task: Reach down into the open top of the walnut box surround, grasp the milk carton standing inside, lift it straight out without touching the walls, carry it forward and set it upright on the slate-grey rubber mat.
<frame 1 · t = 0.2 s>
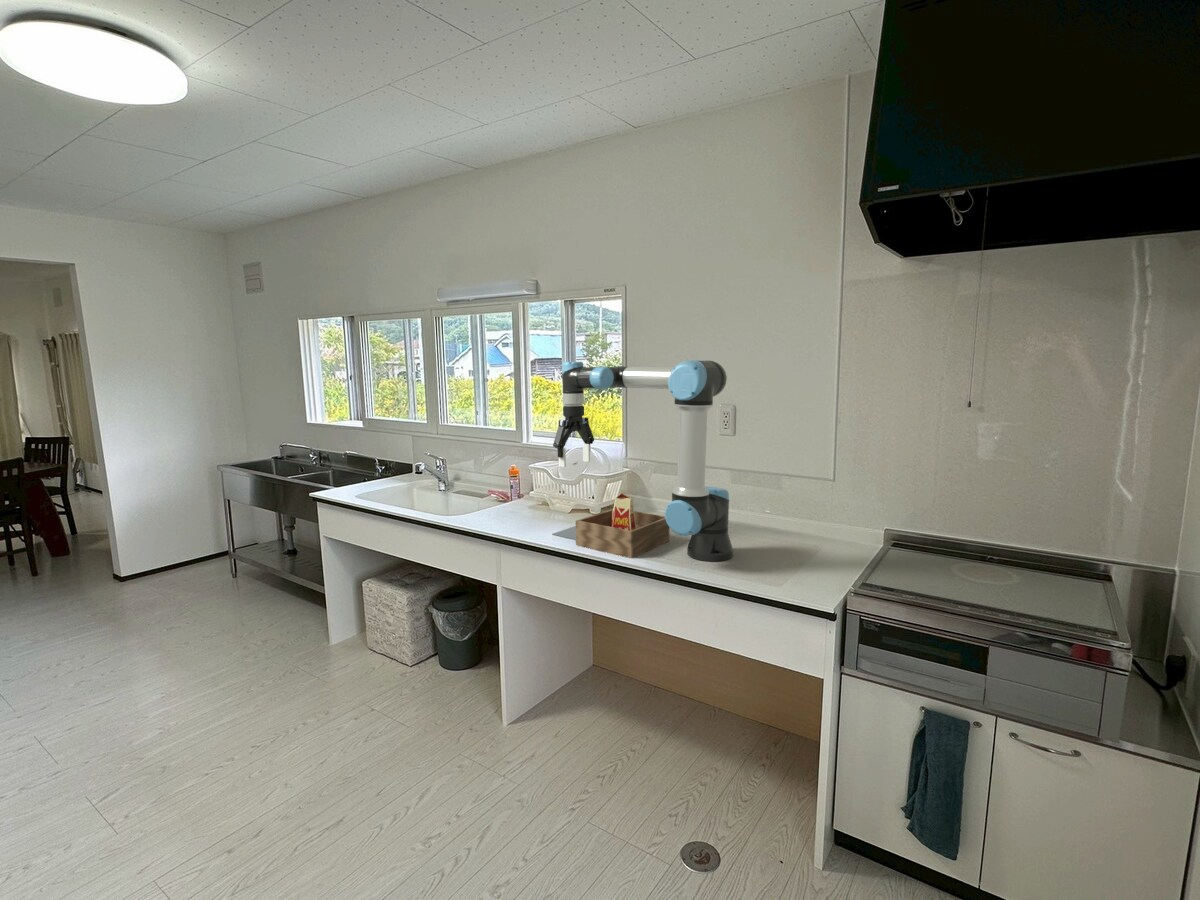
hand: (574, 464, 221), 28 cm above the counter, fingers open, 13 cm apart
slate mat: (578, 533, 232), on the counter
walnut surround: (623, 543, 219), on the counter
milk carton: (623, 544, 220), resting in walnut surround
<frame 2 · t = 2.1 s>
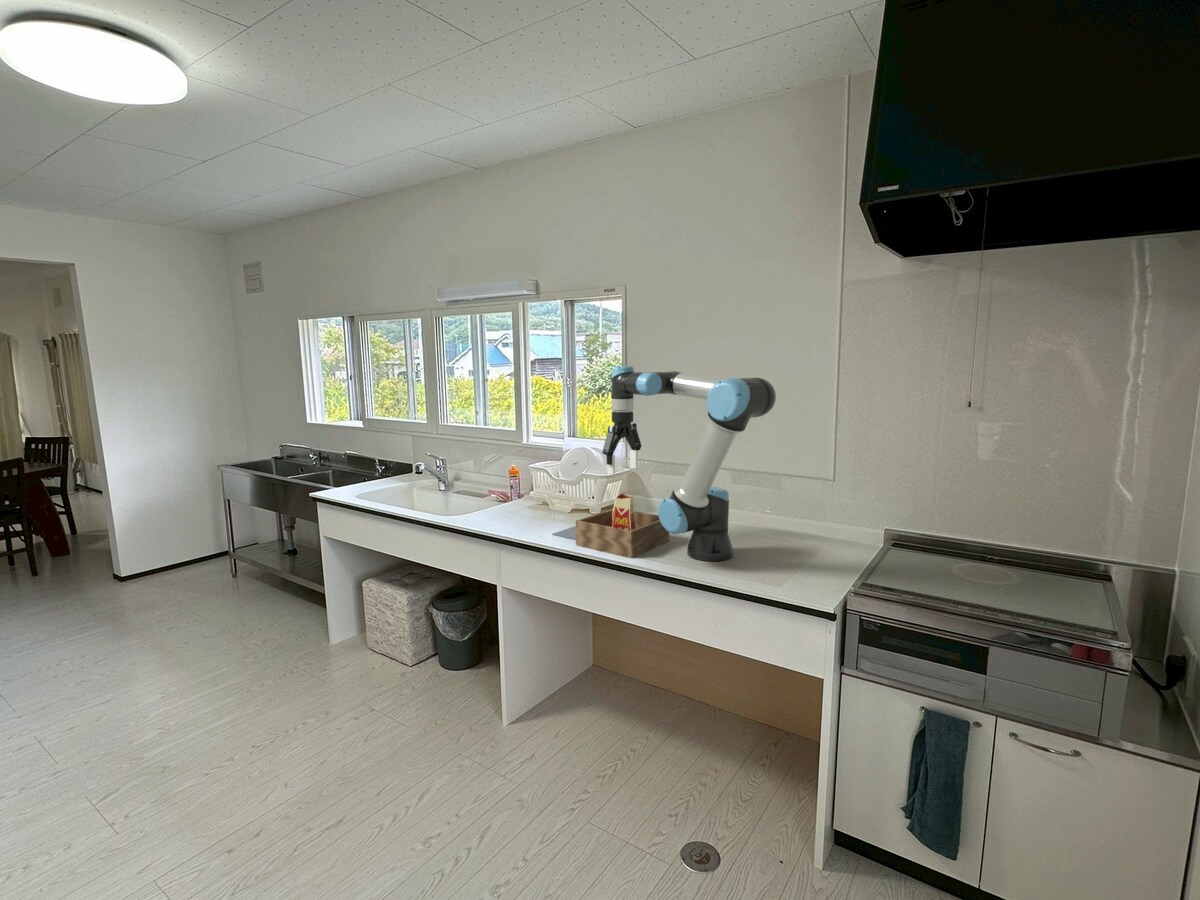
hand: (622, 470, 216), 26 cm above the counter, fingers open, 13 cm apart
nothing on the counter moved.
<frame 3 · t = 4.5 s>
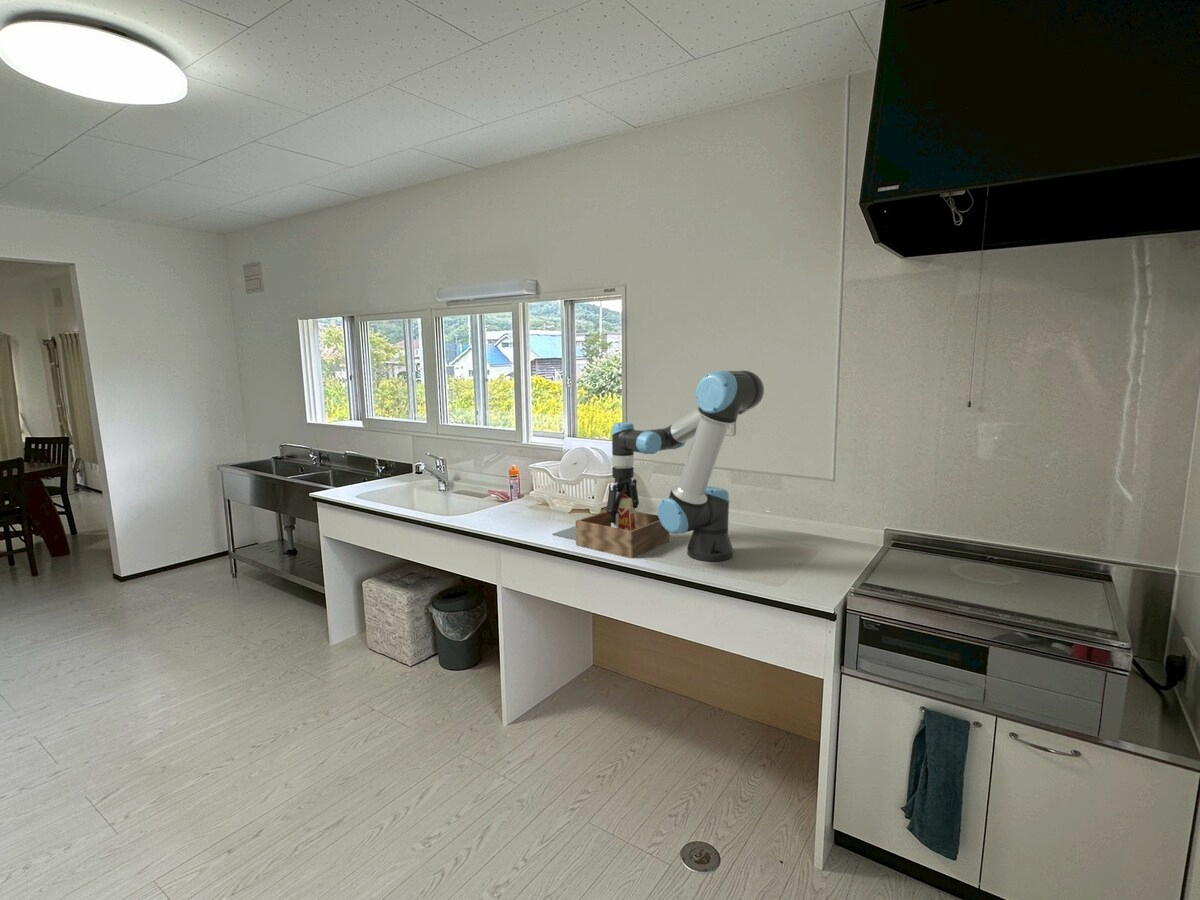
hand: (623, 528, 219), 6 cm above the counter, fingers closed on milk carton, 9 cm apart
milk carton: (623, 543, 220), resting in walnut surround, touching gripper
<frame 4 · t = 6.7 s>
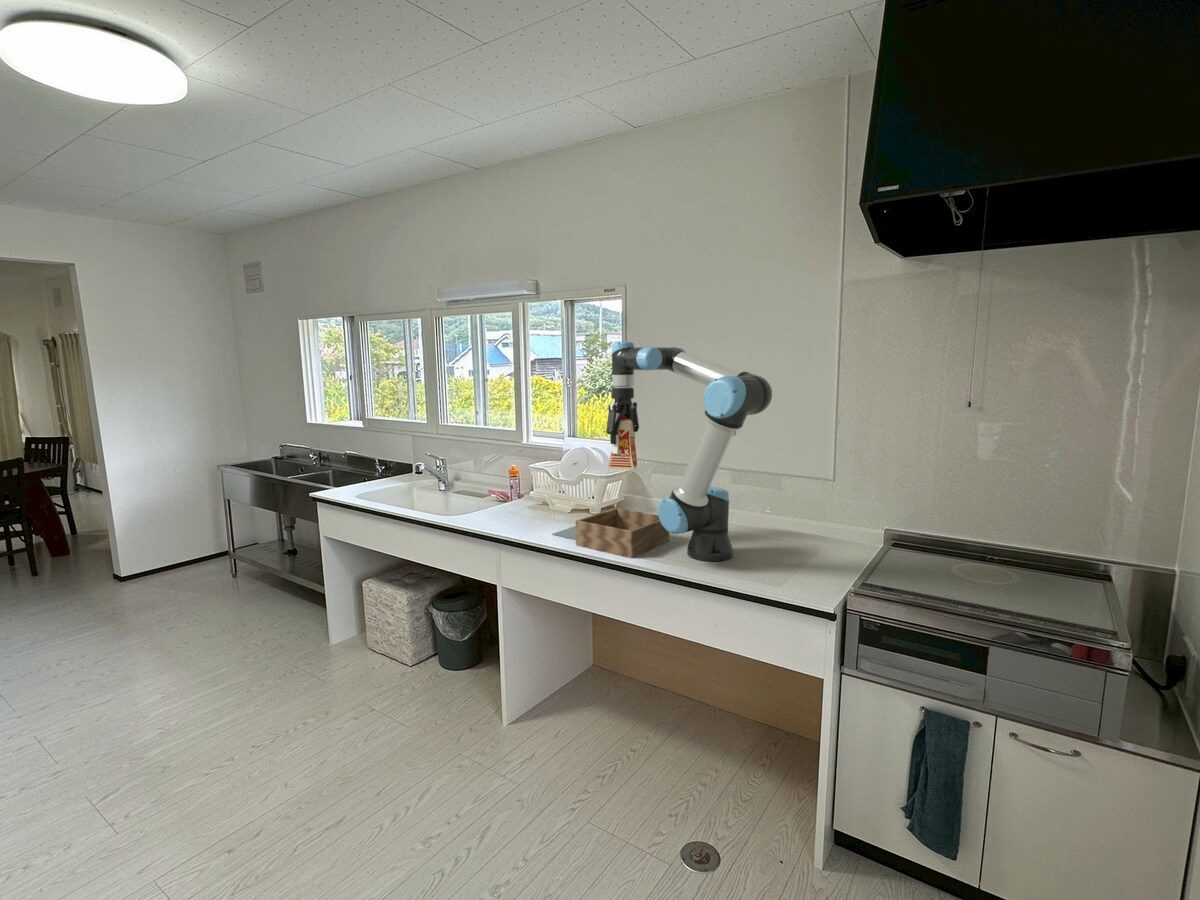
hand: (623, 451, 215), 33 cm above the counter, fingers closed on milk carton, 9 cm apart
milk carton: (623, 468, 215), point 27 cm above the counter, touching gripper
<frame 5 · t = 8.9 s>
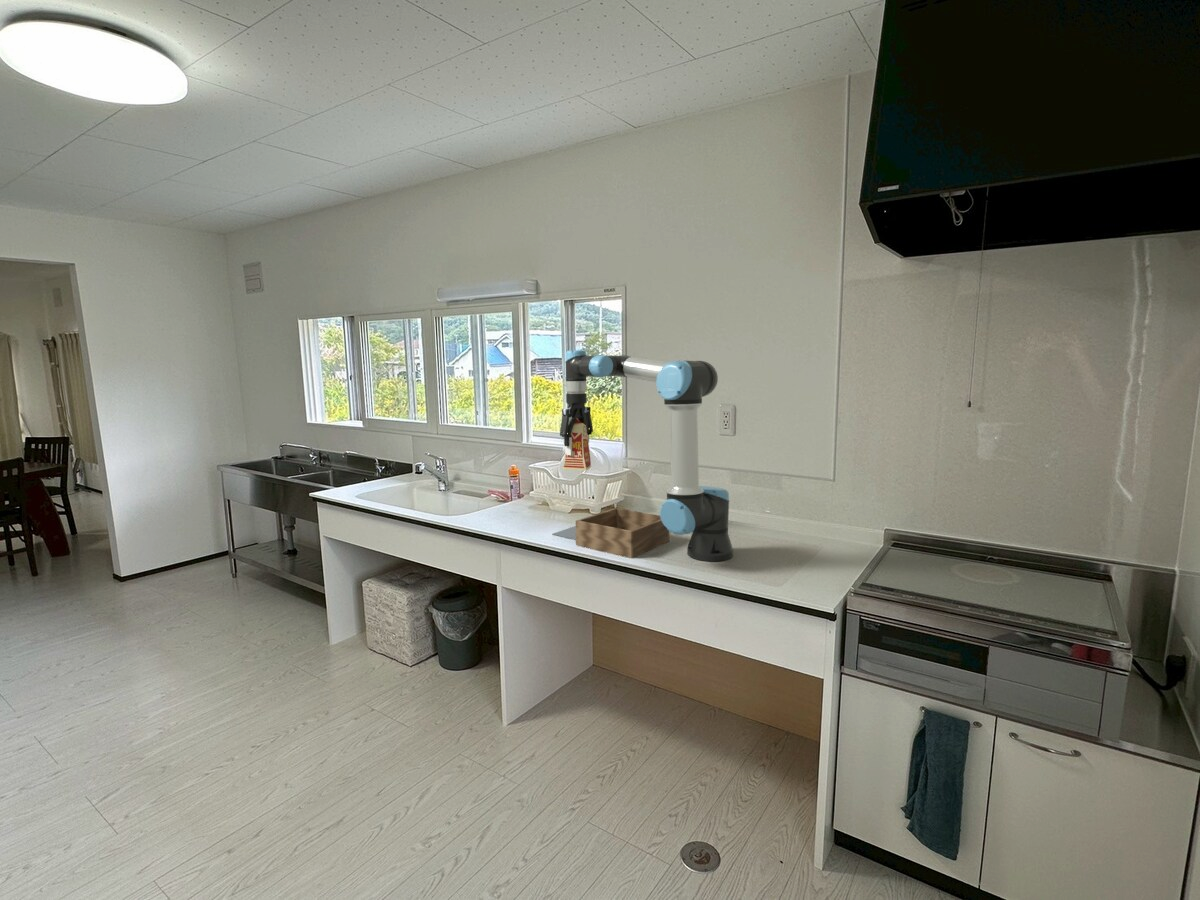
hand: (577, 453, 228), 31 cm above the counter, fingers closed on milk carton, 9 cm apart
milk carton: (577, 468, 229), point 25 cm above the counter, touching gripper
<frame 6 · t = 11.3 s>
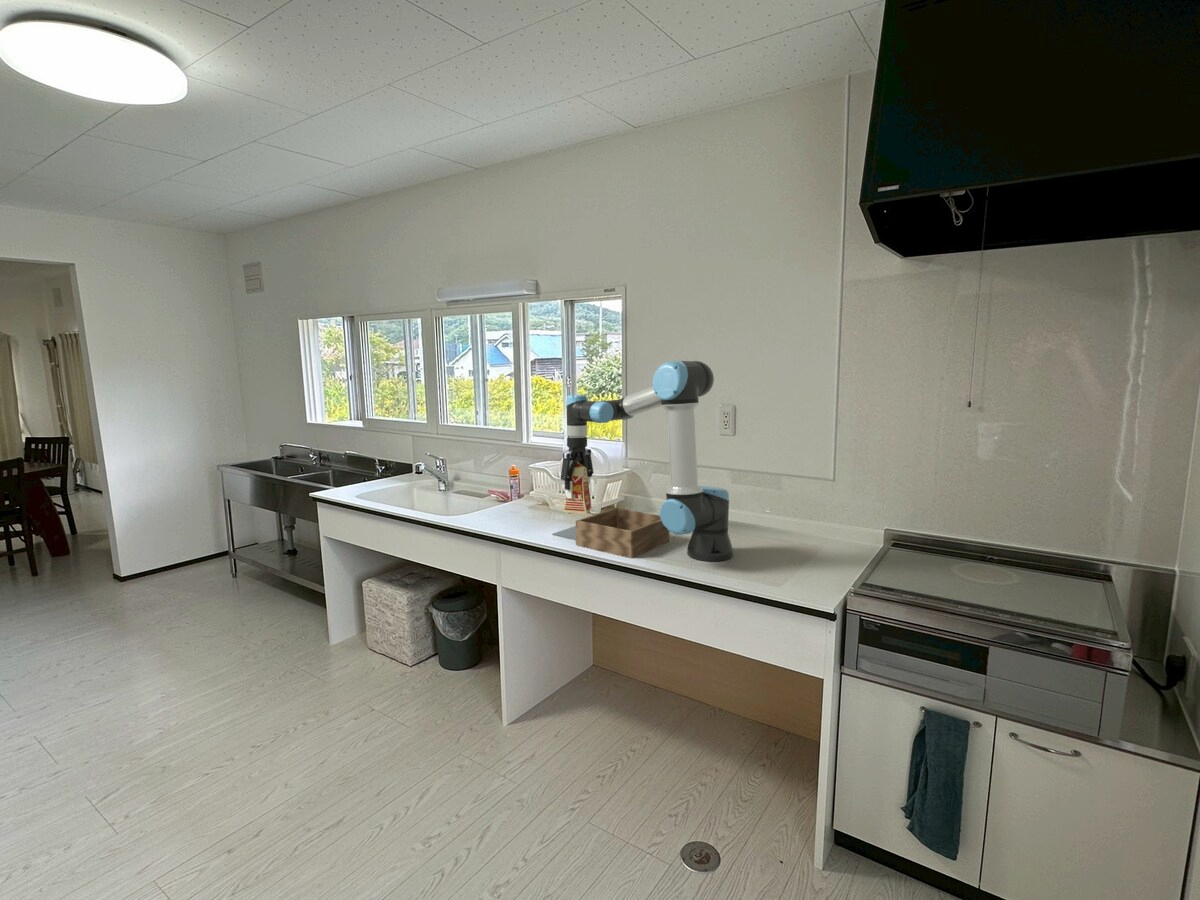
hand: (577, 495, 230), 15 cm above the counter, fingers closed on milk carton, 9 cm apart
milk carton: (577, 510, 231), point 9 cm above the counter, touching gripper
when the fingers open (7 cm above the counter, at t = 13.5 s): milk carton drops 1 cm, resting on slate mat.
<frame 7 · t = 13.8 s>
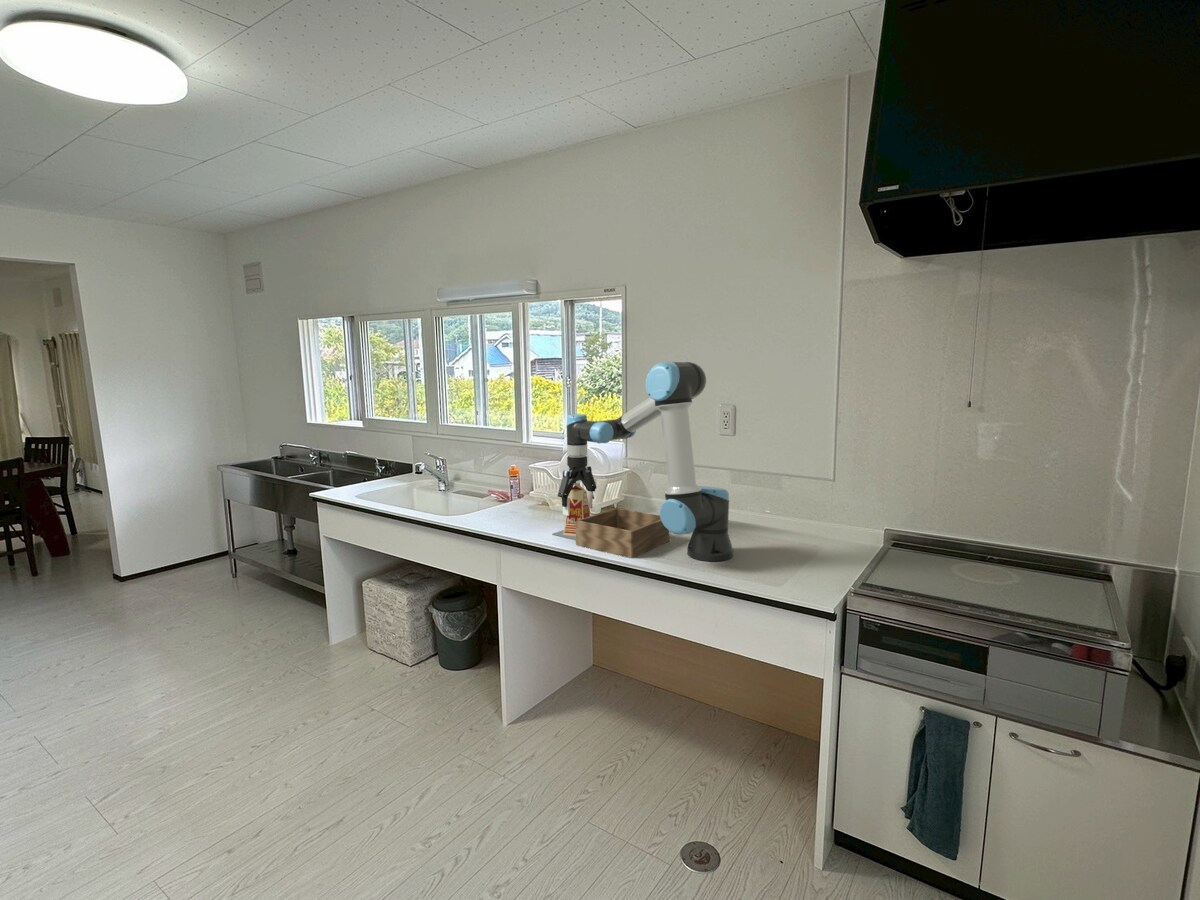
hand: (577, 511, 231), 9 cm above the counter, fingers open, 13 cm apart
milk carton: (577, 533, 232), resting on slate mat
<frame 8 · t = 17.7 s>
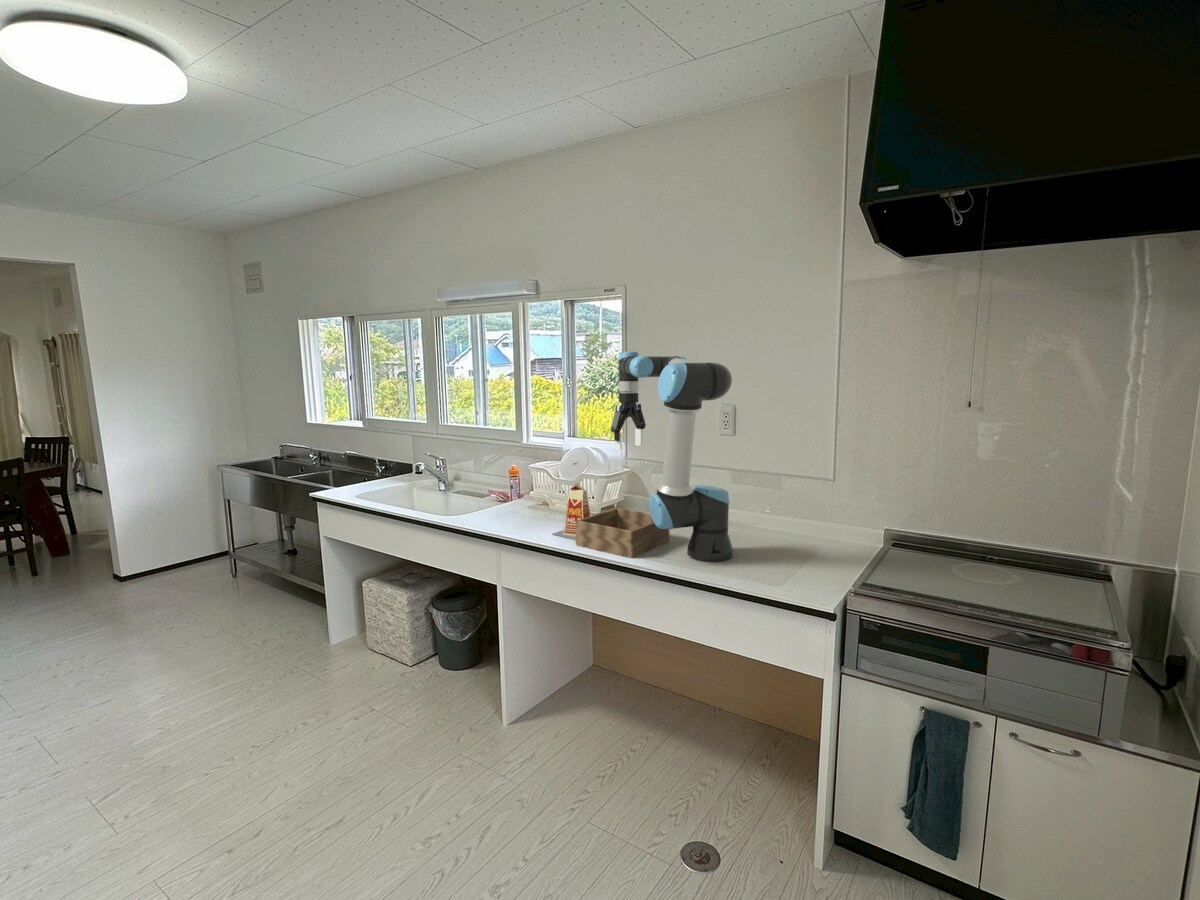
hand: (628, 447, 237), 32 cm above the counter, fingers open, 13 cm apart
nothing on the counter moved.
at the end: milk carton inside the target area on the slate mat (0.4 cm from its centre), point 0.2 cm above the slate mat's base; milk carton tilted 0°; milk carton touching slate mat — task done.
